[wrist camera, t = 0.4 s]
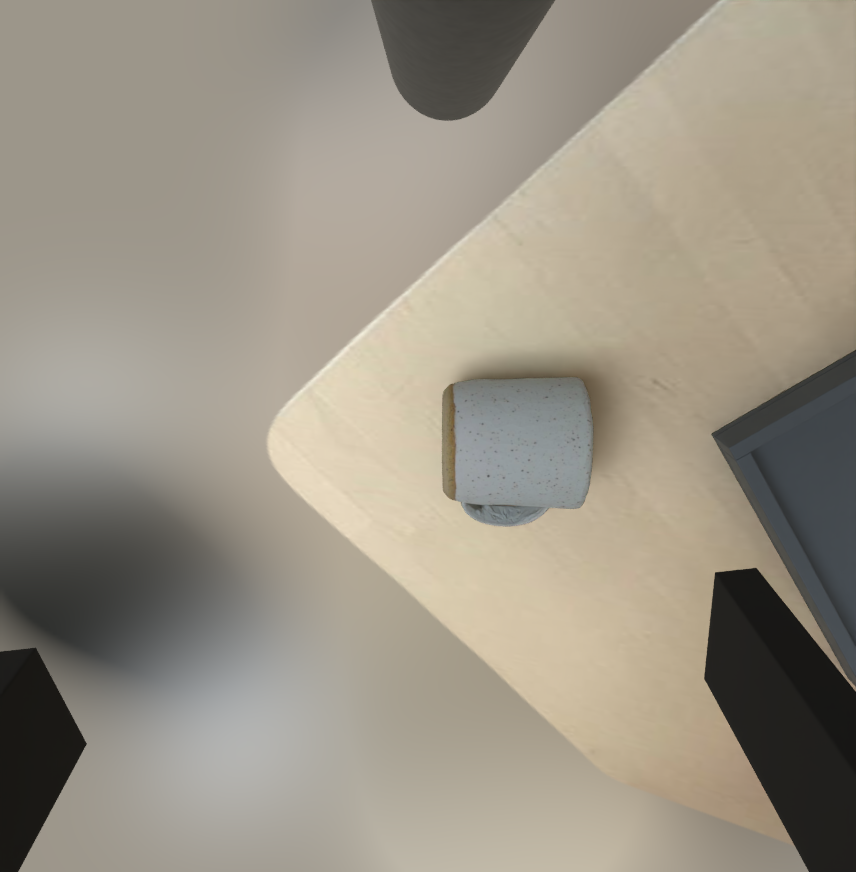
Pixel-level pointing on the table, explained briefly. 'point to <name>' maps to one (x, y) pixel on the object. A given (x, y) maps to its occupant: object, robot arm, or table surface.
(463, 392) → the ceramic mug
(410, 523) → the table surface
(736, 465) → the shallow grey tray
